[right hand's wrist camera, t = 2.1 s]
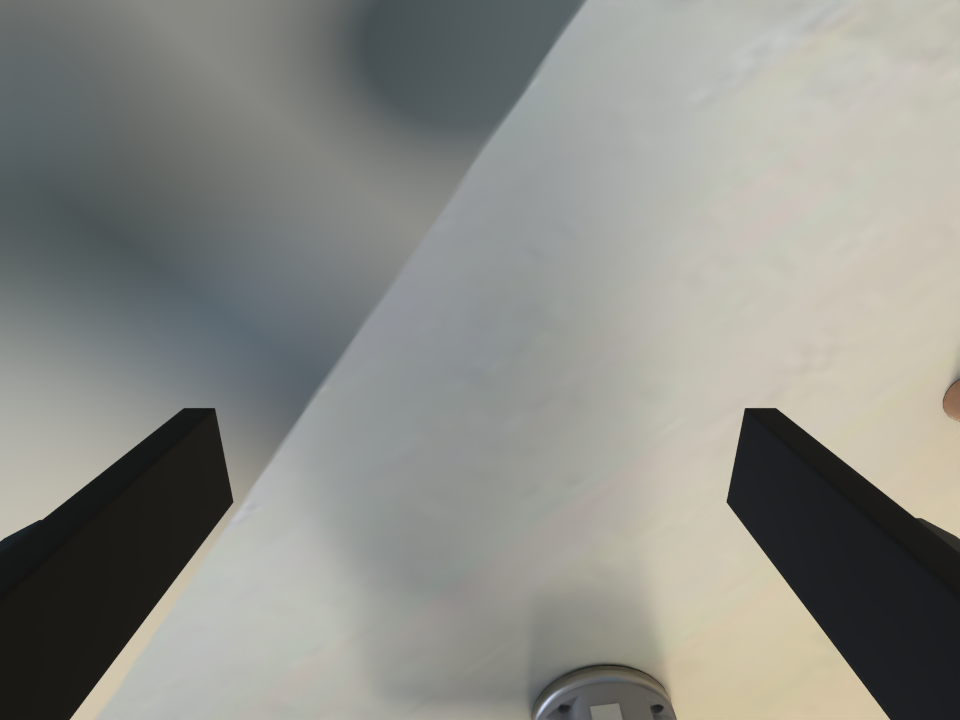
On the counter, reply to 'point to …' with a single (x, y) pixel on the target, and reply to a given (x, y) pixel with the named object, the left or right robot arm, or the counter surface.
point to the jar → (953, 401)
